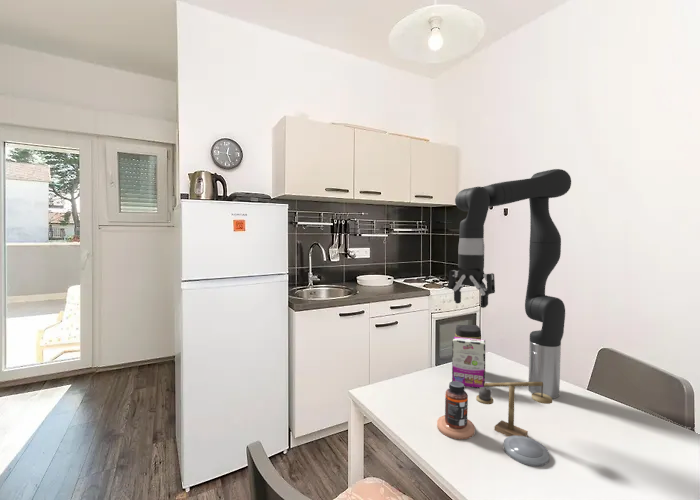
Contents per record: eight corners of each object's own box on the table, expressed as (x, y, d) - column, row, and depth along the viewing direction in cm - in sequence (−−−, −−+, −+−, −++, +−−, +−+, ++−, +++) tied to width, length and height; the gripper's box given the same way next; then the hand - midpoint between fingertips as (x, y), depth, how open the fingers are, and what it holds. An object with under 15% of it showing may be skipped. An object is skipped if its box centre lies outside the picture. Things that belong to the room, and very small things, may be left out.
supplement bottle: (468, 431, 90) (469, 389, 90) (445, 428, 91) (446, 387, 91) (465, 419, 96) (466, 380, 95) (444, 417, 97) (444, 378, 97)
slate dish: (513, 435, 90) (513, 430, 90) (555, 453, 83) (555, 448, 83) (496, 450, 84) (496, 445, 84) (539, 472, 76) (539, 466, 76)
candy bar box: (485, 384, 121) (486, 339, 120) (485, 390, 117) (485, 343, 116) (452, 379, 125) (453, 335, 125) (451, 384, 121) (452, 339, 120)
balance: (480, 415, 100) (481, 360, 100) (553, 446, 86) (555, 382, 85) (472, 420, 97) (473, 364, 97) (547, 454, 83) (549, 387, 82)
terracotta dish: (449, 414, 101) (449, 410, 101) (481, 429, 93) (481, 424, 93) (429, 427, 94) (430, 423, 94) (462, 444, 87) (462, 439, 86)
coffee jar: (477, 368, 135) (478, 323, 135) (483, 376, 128) (483, 328, 127) (453, 367, 137) (453, 322, 136) (456, 375, 129) (457, 327, 128)
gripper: (499, 253, 101) (498, 307, 101) (457, 251, 111) (456, 300, 112) (487, 254, 96) (486, 311, 96) (444, 252, 106) (443, 303, 107)
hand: (470, 305), depth 104 cm, fingers open, 8 cm apart
